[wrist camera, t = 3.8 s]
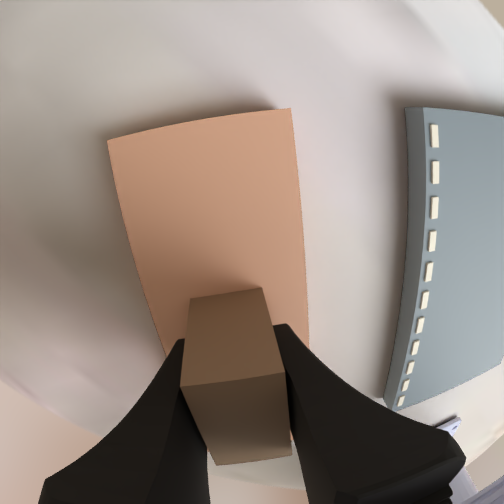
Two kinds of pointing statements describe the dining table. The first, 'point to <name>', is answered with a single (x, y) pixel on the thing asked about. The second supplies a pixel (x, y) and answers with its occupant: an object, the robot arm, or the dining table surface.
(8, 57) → the dining table surface
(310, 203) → the dining table surface
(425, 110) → the board
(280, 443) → the stub
